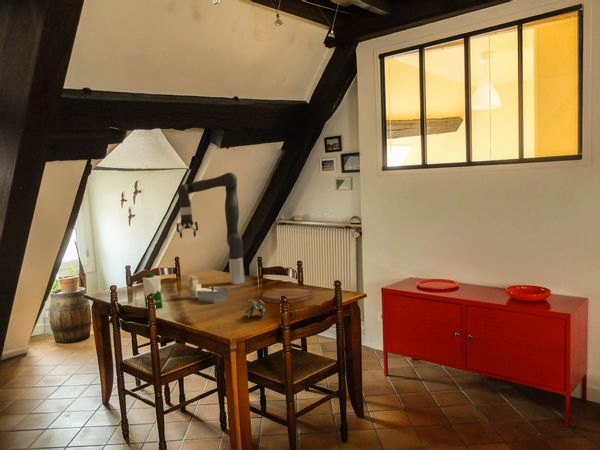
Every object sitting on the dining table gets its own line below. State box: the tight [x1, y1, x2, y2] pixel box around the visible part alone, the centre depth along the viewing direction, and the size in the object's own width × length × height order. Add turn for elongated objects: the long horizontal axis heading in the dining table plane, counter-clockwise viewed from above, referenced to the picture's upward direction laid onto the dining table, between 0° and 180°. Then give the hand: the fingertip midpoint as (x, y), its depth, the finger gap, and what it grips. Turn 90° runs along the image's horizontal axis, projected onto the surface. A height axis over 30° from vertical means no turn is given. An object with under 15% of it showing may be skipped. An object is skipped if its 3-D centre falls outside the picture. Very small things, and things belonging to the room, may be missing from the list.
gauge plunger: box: [195, 283, 218, 298], centre depth 297 cm, size 14×7×8 cm, turn 56°
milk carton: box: [142, 272, 163, 310], centre depth 282 cm, size 9×9×20 cm
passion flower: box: [241, 299, 266, 319], centre depth 254 cm, size 11×11×12 cm
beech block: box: [186, 275, 199, 299], centre depth 303 cm, size 5×5×13 cm
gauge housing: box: [197, 285, 229, 304], centre depth 294 cm, size 13×12×6 cm
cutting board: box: [260, 286, 316, 304], centre depth 293 cm, size 32×32×2 cm
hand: (188, 237), depth 334 cm, fingers open, 8 cm apart
